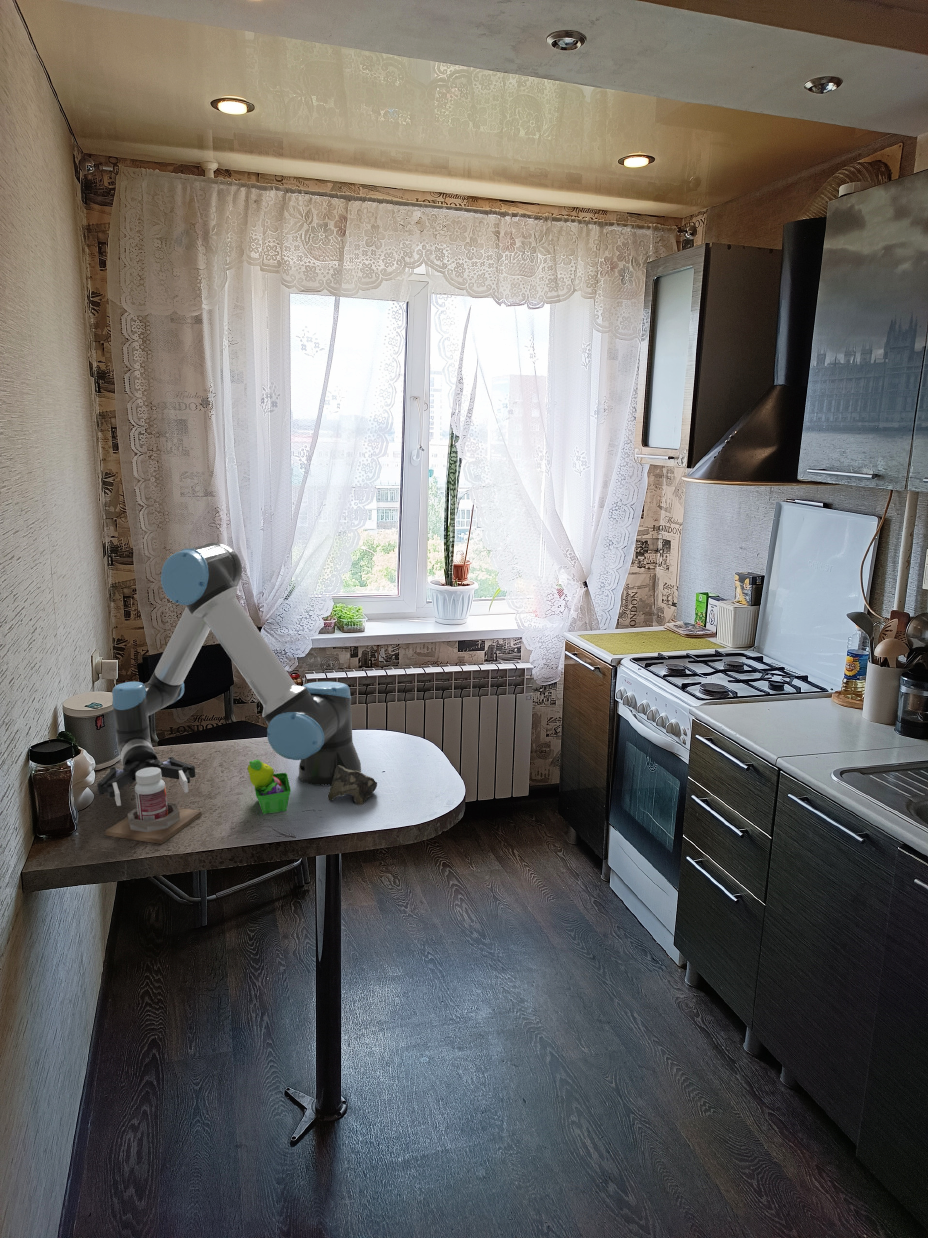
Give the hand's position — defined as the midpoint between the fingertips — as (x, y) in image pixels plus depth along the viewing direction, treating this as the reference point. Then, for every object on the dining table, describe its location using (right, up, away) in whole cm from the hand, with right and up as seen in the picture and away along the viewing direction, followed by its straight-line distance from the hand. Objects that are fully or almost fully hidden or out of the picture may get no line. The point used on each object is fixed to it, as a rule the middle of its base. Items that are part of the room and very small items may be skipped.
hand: (152, 793), depth 181 cm
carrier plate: (-1, -8, +4) cm, 9 cm away
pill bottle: (-1, -7, +4) cm, 8 cm away
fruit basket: (+22, -6, +14) cm, 26 cm away
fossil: (+40, -5, +17) cm, 44 cm away
